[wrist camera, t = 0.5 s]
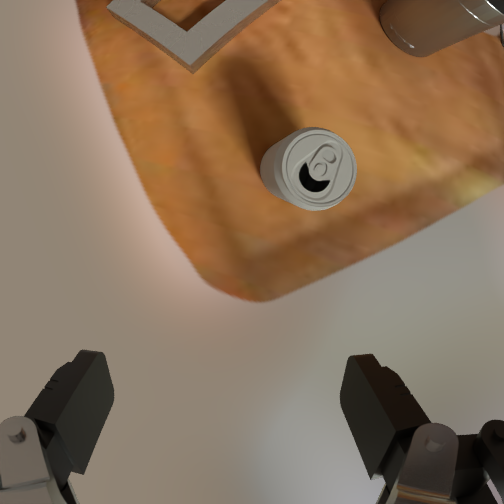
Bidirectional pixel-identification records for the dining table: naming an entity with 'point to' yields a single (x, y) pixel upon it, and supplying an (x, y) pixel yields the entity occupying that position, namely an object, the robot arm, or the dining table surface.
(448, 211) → the dining table surface
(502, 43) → the geometric lantern
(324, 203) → the beverage can
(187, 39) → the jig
